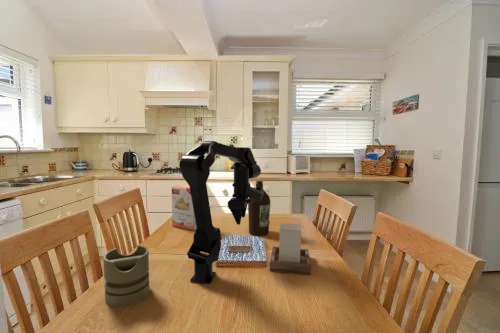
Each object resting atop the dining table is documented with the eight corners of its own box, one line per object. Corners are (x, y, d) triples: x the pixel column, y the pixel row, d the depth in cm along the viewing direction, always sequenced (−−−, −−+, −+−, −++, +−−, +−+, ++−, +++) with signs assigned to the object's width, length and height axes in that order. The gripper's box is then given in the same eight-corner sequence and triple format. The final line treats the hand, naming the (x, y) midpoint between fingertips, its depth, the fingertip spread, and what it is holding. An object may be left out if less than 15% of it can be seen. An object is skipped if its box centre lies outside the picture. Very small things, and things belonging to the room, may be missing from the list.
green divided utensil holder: (149, 258, 69) (100, 265, 64) (150, 300, 70) (102, 311, 65) (147, 242, 79) (105, 248, 74) (148, 280, 80) (107, 287, 76)
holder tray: (310, 274, 84) (310, 265, 84) (269, 270, 86) (269, 262, 86) (308, 256, 98) (308, 249, 97) (272, 254, 100) (272, 246, 99)
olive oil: (243, 232, 123) (243, 180, 121) (258, 227, 130) (259, 178, 128) (258, 238, 116) (259, 183, 113) (274, 233, 123) (275, 181, 121)
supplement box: (300, 266, 88) (301, 230, 86) (278, 264, 89) (279, 228, 88) (300, 257, 95) (301, 223, 94) (279, 255, 96) (280, 222, 95)
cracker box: (171, 226, 130) (170, 185, 128) (179, 223, 136) (179, 184, 134) (193, 231, 124) (192, 188, 122) (201, 227, 129) (200, 186, 127)
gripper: (259, 185, 87) (258, 230, 88) (265, 177, 105) (264, 215, 107) (227, 184, 89) (227, 228, 90) (238, 176, 107) (238, 213, 108)
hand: (240, 220), depth 99 cm, fingers open, 9 cm apart
